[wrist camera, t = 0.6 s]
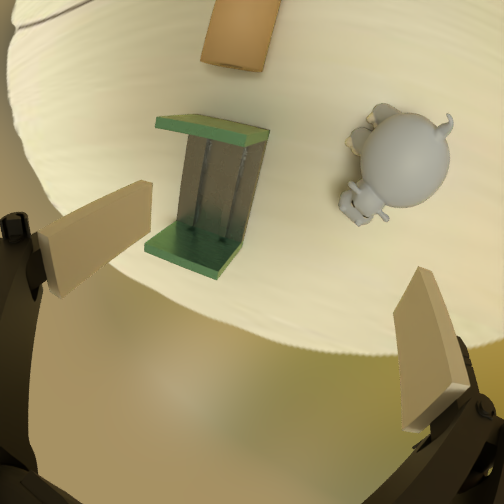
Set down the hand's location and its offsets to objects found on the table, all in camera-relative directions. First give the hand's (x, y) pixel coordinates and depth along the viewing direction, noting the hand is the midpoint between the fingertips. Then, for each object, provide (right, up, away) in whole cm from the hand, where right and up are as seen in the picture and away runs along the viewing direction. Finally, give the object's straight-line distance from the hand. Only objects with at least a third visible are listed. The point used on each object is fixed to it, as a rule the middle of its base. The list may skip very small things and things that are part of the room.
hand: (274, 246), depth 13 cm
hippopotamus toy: (+15, +10, +17) cm, 25 cm away
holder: (-5, +9, +25) cm, 27 cm away
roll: (-1, +27, +14) cm, 30 cm away
